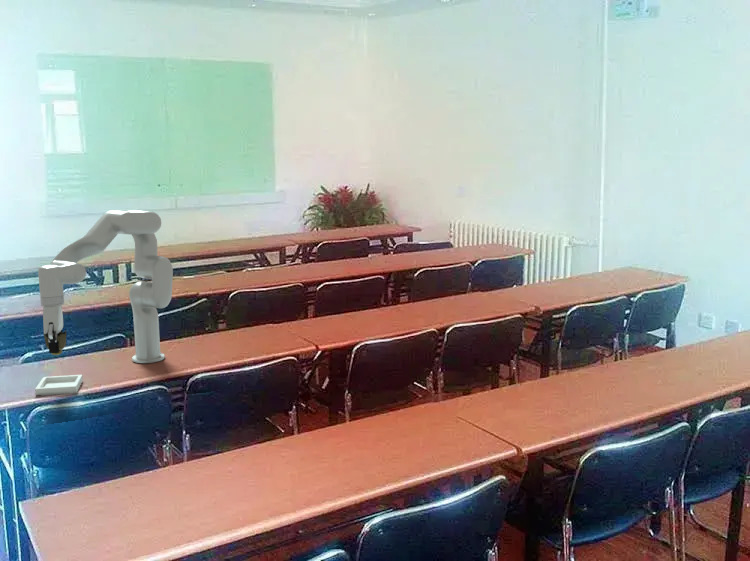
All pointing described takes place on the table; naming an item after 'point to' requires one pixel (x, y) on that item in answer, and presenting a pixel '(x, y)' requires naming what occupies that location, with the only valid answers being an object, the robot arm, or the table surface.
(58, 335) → the cup
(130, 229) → the robot arm
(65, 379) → the tray
